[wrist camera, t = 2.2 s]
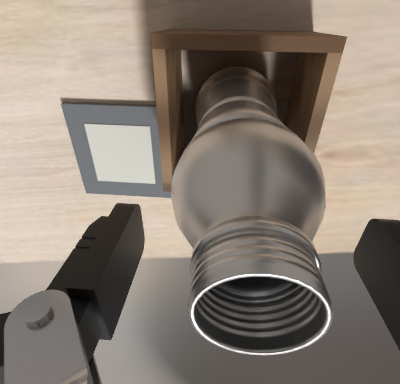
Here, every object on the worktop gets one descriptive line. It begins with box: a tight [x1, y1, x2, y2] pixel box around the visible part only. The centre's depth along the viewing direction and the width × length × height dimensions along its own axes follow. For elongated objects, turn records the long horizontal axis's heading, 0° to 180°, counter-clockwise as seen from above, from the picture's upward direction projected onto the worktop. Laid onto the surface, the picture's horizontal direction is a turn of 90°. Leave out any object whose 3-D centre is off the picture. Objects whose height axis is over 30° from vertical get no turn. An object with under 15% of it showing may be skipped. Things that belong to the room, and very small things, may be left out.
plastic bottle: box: [171, 66, 333, 355], centre depth 15 cm, size 6×7×20 cm
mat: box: [61, 103, 172, 198], centre depth 27 cm, size 10×10×1 cm
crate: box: [151, 29, 347, 192], centre depth 20 cm, size 11×11×6 cm
